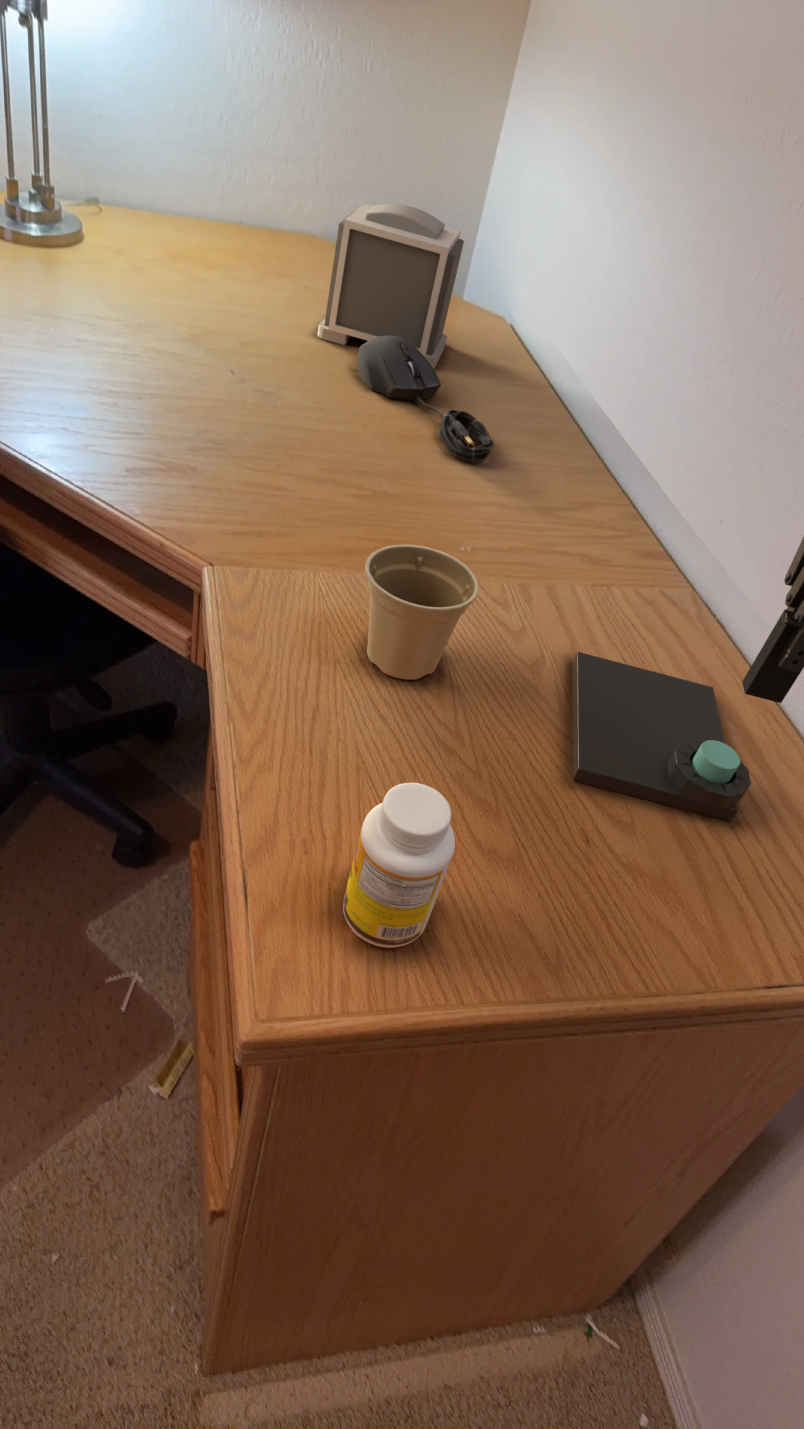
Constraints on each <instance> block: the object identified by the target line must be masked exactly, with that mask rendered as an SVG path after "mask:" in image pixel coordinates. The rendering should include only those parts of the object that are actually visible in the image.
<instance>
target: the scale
mask: <svg viewBox="0 0 804 1429" xmlns="http://www.w3.org/2000/svg"><path fill="white" fill-rule="evenodd" d="M715 694H716V693H715V690H714V687H713V686H711V685H707V684H703V683H698V682H695V681H691V680H687V679H684V678H679V677H675V676H672V675H668V674H665V673H661V672H657V671H652V670H649V669H645V668H641V667H637V666H634V665H630V664H626V663H623V662H619V661H615V660H611V659H607V658H603V657H599V656H595V655H592V654H588V653H585V652H581V651H577V652H576V654H575V656H574V658H573V660H572V781H573V782H575V783H576V782H577V783H580V784H584V785H588V786H592V787H596V788H599V789H603V790H607V791H611V792H614V793H619V794H622V795H627V796H630V797H635V798H638V799H642V800H646V801H648V802H649V801H650V802H654V803H656V804H657V803H658V804H661V805H666V806H669V807H673V808H676V809H681V810H684V811H688V812H691V813H695V814H700V815H703V816H706V817H707V816H708V817H712V818H715V819H719V820H722V821H726V822H732V821H733V819H734V818H735V816H736V814H737V813H738V812H739V807H738V806H739V805H738V804H739V803H740V801H741V800H742V799H743V797H744V796H745V794H746V792H748V789H749V788H750V786H751V785H752V780H751V777H750V772H749V768H748V767H747V766H746V765H745V764H744V763H743V762H742V761H741V760H740V765H739V767H738V768H737V770H736V771H735V773H734V774H733V776H732V778H731V779H730V781H729V782H727V783H725V784H718V783H714V782H710V781H709V780H707V779H705V778H704V777H702V776H701V775H699V774H698V773H697V772H696V771H695V769H694V768H693V767H692V760H693V758H694V756H695V755H696V753H697V751H698V750H699V748H700V746H701V745H702V743H703V742H705V741H708V740H714V741H719V742H722V743H724V744H726V743H725V739H724V734H723V733H724V732H723V729H722V723H721V719H720V715H719V709H718V704H717V699H716V696H715Z"/></svg>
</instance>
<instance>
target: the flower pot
mask: <svg viewBox="0 0 804 1429" xmlns="http://www.w3.org/2000/svg"><path fill="white" fill-rule="evenodd" d="M364 573H365V576H366V579H367V581H368V582H367V585H368V590H369V593H370V594H369V611H368V612H369V615H368V631H367V632H368V634H367V648H366V653H367V658H368V660H369V661H370V663H372V664H374V665H375V666H376V667H377V668H378V669H379V670H380V671H381V672H382V673H384V674H385V675H387V676H389V677H392V678H394V679H395V678H396V679H399V680H409V681H411V680H419V679H421V678H423V677H424V676H427V675H432V674H433V673H434V672H435V670H436V669H437V666H438V664H439V662H440V659H441V658H442V656H443V654H444V651H445V649H446V647H447V645H448V643H449V640H450V638H451V637H452V634H453V632H454V631H455V628H456V626H457V625H458V622H459V620H460V617H461V616H462V615H463V614H464V613H465V612H466V611H467V609H468V607H469V606H470V605H471V604H473V603H474V601H475V600H476V599H477V597H478V595H479V592H480V585H479V581H478V578H477V576H476V575H475V573H474V572H473V570H471V569H470V568H469V566H467V565H466V564H465V563H463V562H462V561H461V560H460V559H458V558H456V557H455V556H453V555H451V554H448V553H446V552H444V551H441V550H439V549H435V548H432V547H428V546H424V545H418V544H417V545H415V544H391V545H386V546H384V547H380V548H379V549H377V550H375V551H374V552H372V553H370V554H369V556H368V557H367V559H366V561H365V566H364Z"/></svg>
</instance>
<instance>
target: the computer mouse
mask: <svg viewBox="0 0 804 1429" xmlns="http://www.w3.org/2000/svg"><path fill="white" fill-rule="evenodd" d="M356 367H357V372H358V375H359V377H360V379H361V380H362V382H364V383H365V385H366V386H367V387H368V388H369V389H370V390H372V391H373V392H376V393H380V394H381V395H384V396H386V397H388V398H390V399H397V400H405V401H415V402H416V404H418V405H419V406H423V407H425V408H427V409H429V410H431V411H432V412H435V413H437V414H438V415H439V416H440V418H441V421H440V426H439V432H438V435H439V436H438V437H439V439H440V440H441V442H442V443H443V445H444V446H445V447H446V450H447V451H448V452H449V454H450V455H452V456H453V457H455V458H458V459H461V460H464V461H469V462H482V461H483V460H486V459H487V458H488V457H489V456H490V454H491V450H492V449H493V448H494V446H495V443H494V441H493V440H492V438H491V436H490V432H489V431H488V429H487V428H486V425H485V424H483V422H480V420H478V419H477V417H475V416H474V415H472V414H471V413H469V412H467V411H465V410H458V409H457V410H456V409H449V410H448V411H447V412H446V413H444V414H443V413H442V412H441V411H440V410H439V409H437V408H436V407H435V406H432V405H429V404H427V403H425V402H424V400H427V399H430V398H433V397H434V396H435V395H436V393H437V392H438V390H440V388H441V386H442V384H441V381H440V379H439V376H438V374H437V372H436V370H435V368H433V367H432V366H431V364H430V363H429V362H428V360H427V359H426V358H425V357H424V356H423V354H422V353H421V352H420V351H419V350H418V349H417V348H416V347H415V346H414V345H413V344H412V343H411V342H410V341H408V340H406V339H404V338H401V337H398V336H379V337H376V338H373V339H371V340H369V341H367V340H366V342H364V343H363V344H361V345H360V347H358V352H357V366H356ZM472 438H473V440H474V441H475V442H476V443H479V444H480V445H478V446H475V442H474V441H473V440H472Z"/></svg>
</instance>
